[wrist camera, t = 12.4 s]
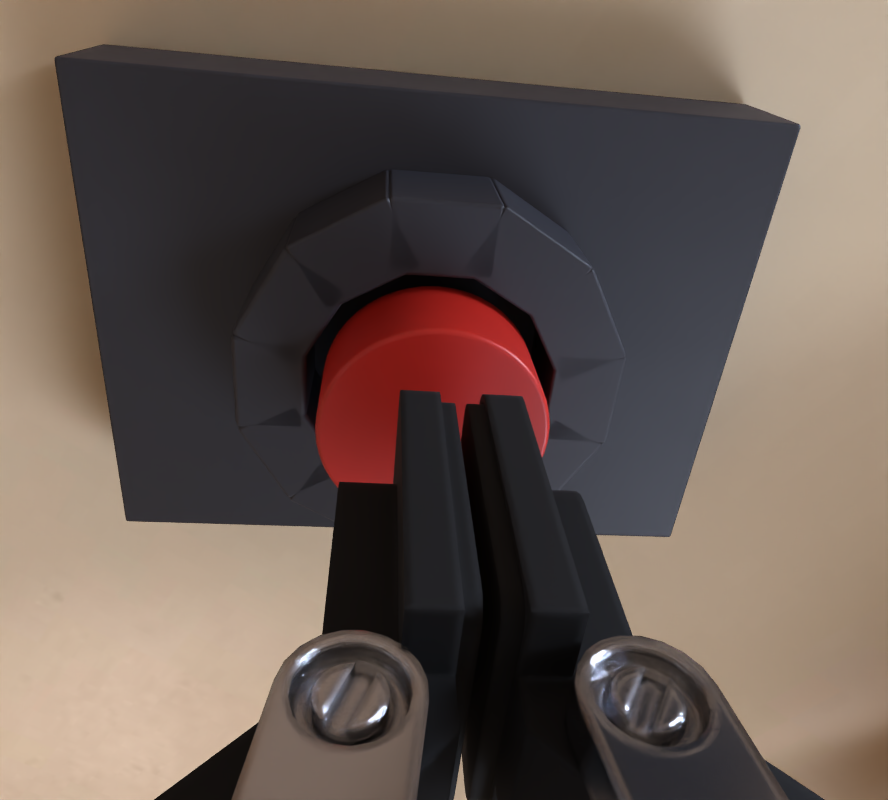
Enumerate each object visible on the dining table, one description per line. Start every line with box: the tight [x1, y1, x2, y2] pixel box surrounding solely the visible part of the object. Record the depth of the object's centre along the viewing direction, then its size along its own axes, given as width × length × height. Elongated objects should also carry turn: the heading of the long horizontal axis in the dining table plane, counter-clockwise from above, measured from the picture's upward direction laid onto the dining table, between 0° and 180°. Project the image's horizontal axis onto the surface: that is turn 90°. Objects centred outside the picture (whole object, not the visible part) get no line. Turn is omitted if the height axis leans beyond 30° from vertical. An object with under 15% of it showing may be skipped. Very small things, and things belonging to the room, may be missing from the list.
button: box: [315, 286, 550, 487], centre depth 12 cm, size 4×4×2 cm
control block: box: [55, 44, 800, 537], centre depth 14 cm, size 12×9×4 cm
